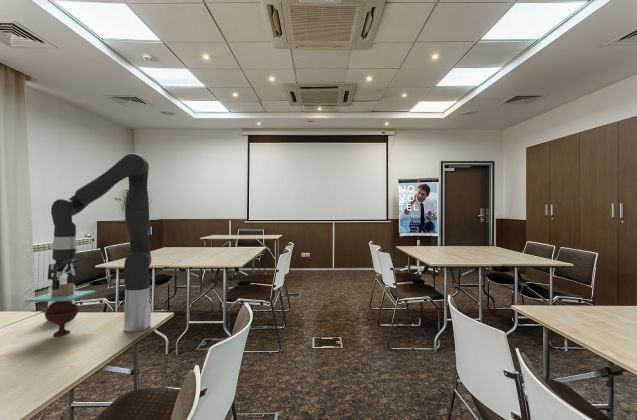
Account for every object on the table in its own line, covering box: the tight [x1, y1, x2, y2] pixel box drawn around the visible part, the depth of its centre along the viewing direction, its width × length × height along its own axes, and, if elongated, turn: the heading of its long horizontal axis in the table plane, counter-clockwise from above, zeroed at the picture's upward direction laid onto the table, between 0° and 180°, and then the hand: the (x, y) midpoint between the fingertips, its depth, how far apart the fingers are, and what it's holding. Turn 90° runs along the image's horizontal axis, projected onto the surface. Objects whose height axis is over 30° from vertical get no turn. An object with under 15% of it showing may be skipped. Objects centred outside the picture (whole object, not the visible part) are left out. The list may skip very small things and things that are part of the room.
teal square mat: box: [24, 283, 96, 303], centre depth 128 cm, size 16×16×5 cm
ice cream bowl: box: [44, 301, 80, 337], centre depth 127 cm, size 11×11×15 cm
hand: (63, 287), depth 128 cm, fingers open, 8 cm apart
